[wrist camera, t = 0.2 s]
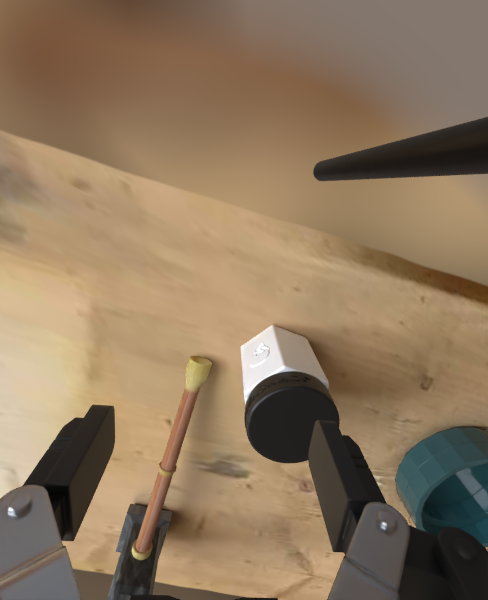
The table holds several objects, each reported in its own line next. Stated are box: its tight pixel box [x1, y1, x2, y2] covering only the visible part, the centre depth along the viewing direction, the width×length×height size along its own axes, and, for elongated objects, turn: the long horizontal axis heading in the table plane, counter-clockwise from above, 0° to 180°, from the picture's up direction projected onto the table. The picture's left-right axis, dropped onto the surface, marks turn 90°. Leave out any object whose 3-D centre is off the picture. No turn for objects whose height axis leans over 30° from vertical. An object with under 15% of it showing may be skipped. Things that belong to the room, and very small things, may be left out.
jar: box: [241, 325, 339, 463], centre depth 34 cm, size 9×8×12 cm
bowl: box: [395, 427, 488, 547], centre depth 44 cm, size 16×16×6 cm
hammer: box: [107, 356, 212, 600], centre depth 38 cm, size 6×16×30 cm
